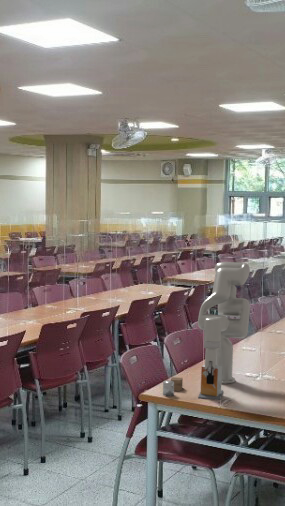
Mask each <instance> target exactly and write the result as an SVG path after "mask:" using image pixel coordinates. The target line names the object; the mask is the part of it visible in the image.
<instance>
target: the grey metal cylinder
mask: <svg viewBox="0 0 285 506" xmlns="http://www.w3.org/2000/svg"><path fill="white" fill-rule="evenodd" d="M162 395H163V396H164V395H166V396H165V397H172V396H175V390H174V381H171V380H170V379H169V380H163V381H162Z"/></svg>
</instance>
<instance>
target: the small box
mask: <svg viewBox="0 0 285 506" xmlns="http://www.w3.org/2000/svg"><path fill="white" fill-rule="evenodd" d="M207 369H208V368H207ZM207 369H206V370H205V364H203V365H202V366H201V371H200V372H201V373H200V374H201V375H200V392H201V394H206V395H212V396H218V395H219V394H221V390H222V384H221V381H222V366H219V365H217V366H216V368H215V370H214V372H213V375H214V384H207ZM211 369H213V368H211Z"/></svg>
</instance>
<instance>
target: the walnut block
mask: <svg viewBox="0 0 285 506" xmlns="http://www.w3.org/2000/svg"><path fill="white" fill-rule="evenodd" d="M170 381H174V391H182V389H183V377H178V376H171V378H170Z"/></svg>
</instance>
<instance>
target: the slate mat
mask: <svg viewBox="0 0 285 506" xmlns="http://www.w3.org/2000/svg"><path fill="white" fill-rule="evenodd" d="M223 393H224V390H222V389H221V394H219V395H218V396H212V395H206V394H201V391H200V392H199V394H198V396H197V398H198V399H203V400H215V401H221V400H222V396H223Z"/></svg>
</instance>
